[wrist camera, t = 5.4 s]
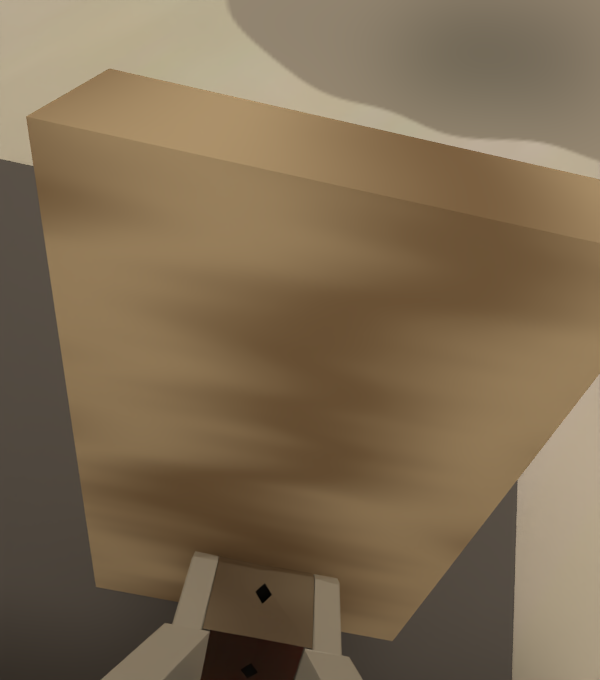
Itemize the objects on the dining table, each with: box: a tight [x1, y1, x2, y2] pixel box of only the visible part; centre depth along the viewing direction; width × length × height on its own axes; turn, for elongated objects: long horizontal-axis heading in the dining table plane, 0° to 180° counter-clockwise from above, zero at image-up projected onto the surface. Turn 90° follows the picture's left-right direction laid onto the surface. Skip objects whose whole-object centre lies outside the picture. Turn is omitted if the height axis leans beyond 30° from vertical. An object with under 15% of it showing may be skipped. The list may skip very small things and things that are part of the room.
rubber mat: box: [0, 159, 517, 680], centre depth 16 cm, size 20×20×1 cm
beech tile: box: [26, 69, 600, 641], centre depth 11 cm, size 8×2×12 cm
